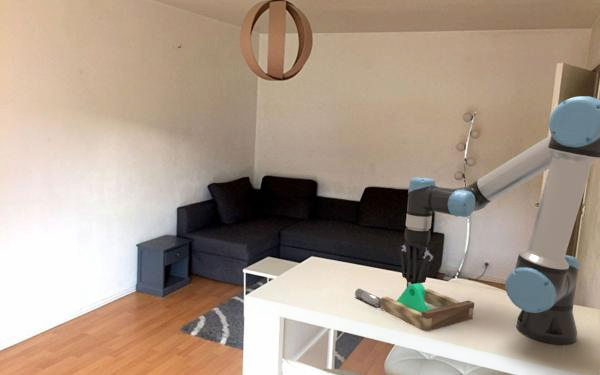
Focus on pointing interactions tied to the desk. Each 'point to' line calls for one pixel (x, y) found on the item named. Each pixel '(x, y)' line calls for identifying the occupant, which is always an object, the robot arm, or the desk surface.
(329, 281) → the desk surface
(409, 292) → the camera mount
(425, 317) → the u-shaped wooden frame
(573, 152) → the robot arm
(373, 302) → the shaft stub
